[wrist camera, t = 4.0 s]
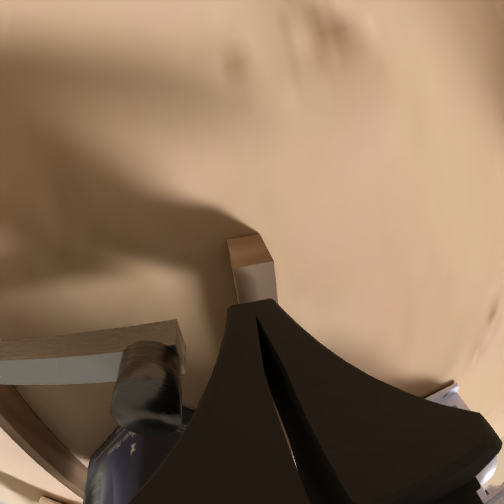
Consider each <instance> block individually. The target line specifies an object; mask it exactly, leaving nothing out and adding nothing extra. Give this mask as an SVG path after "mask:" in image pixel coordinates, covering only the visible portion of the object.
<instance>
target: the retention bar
mask: <svg viewBox="0 0 504 504" xmlns="http://www.w3.org/2000/svg"><path fill="white" fill-rule="evenodd" d="M182 374H186V346H185V343H184V340H183V337H182V334H181V331H180V328H179V325H178V322H177V319H174V320H168V321H162V322H155V323H149V324H142V325H136V326H129V327H122V328H115V329H107V330H100V331H92V332H84V333H76V334H67V335H58V336H49V337H39V338H29V339H18V340H6V341H0V384H5V385H65V384H87V383H103V382H116V384H115V389H114V394H113V399H112V404H111V415H112V417H113V419H114V420H115V421H116V422H117V423H118V424H119V425H120V426H121V427H123V428H125V429H127V430H129V431H131V432H133V433H136V434H140V435H146V436H162V435H167V434H170V433H172V432H174V431H176V430H177V429H178V428H179V427H180V425H181V423H182Z"/></svg>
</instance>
